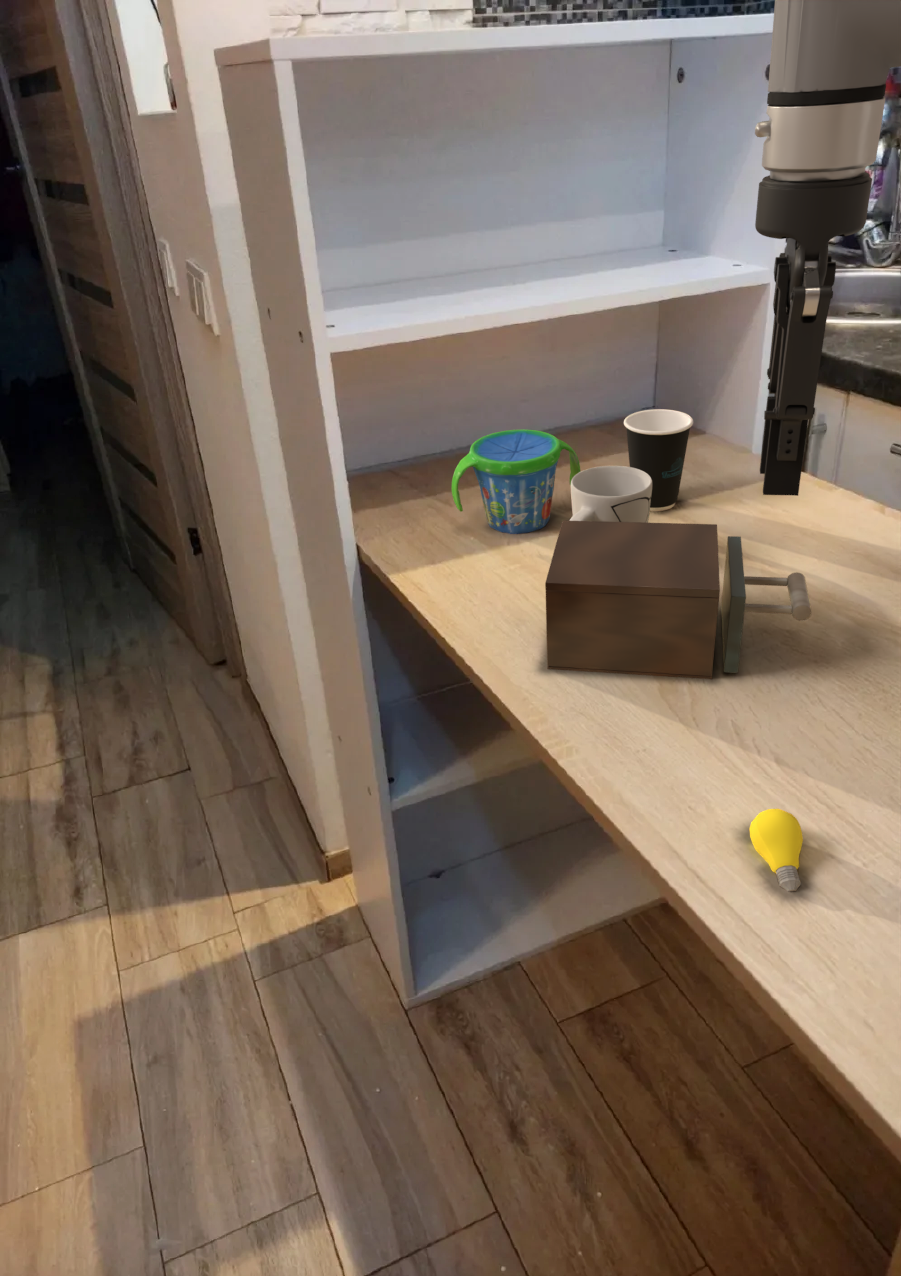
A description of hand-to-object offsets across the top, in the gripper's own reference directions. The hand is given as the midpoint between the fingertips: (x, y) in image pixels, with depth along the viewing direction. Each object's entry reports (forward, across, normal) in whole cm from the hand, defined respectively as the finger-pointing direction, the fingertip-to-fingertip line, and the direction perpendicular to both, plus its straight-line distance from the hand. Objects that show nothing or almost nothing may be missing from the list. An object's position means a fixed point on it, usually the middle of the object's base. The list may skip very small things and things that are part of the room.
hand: (778, 482), depth 77 cm
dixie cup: (+17, -31, -11) cm, 37 cm away
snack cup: (+17, -25, -27) cm, 40 cm away
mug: (+17, -14, -16) cm, 27 cm away
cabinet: (+17, 0, -12) cm, 20 cm away
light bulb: (+17, +28, 0) cm, 32 cm away
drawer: (+16, 0, -6) cm, 17 cm away
